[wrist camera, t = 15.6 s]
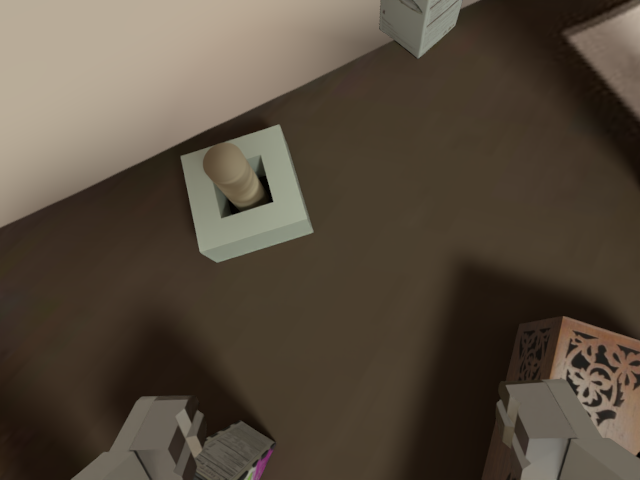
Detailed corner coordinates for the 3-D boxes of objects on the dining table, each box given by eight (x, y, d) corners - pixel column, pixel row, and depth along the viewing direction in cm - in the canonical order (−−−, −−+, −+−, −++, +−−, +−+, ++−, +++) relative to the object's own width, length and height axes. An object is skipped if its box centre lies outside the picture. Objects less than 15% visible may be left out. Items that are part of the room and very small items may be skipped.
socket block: (287, 146, 50) (279, 124, 45) (313, 232, 47) (307, 218, 42) (198, 174, 50) (180, 156, 46) (217, 262, 47) (199, 252, 42)
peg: (265, 183, 49) (238, 137, 39) (273, 212, 48) (247, 173, 37) (235, 193, 49) (199, 149, 39) (242, 222, 48) (207, 185, 37)
